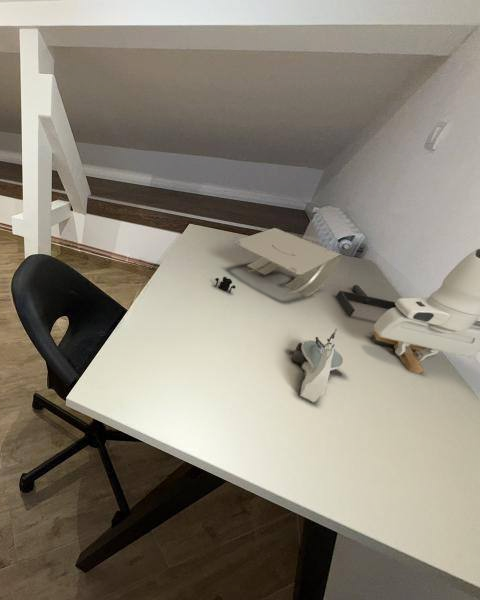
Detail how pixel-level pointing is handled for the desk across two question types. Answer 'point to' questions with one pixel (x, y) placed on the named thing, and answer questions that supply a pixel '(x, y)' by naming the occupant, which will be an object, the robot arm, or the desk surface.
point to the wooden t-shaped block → (408, 360)
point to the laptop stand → (292, 258)
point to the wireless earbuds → (225, 284)
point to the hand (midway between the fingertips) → (407, 356)
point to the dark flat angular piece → (360, 300)
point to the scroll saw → (316, 366)
